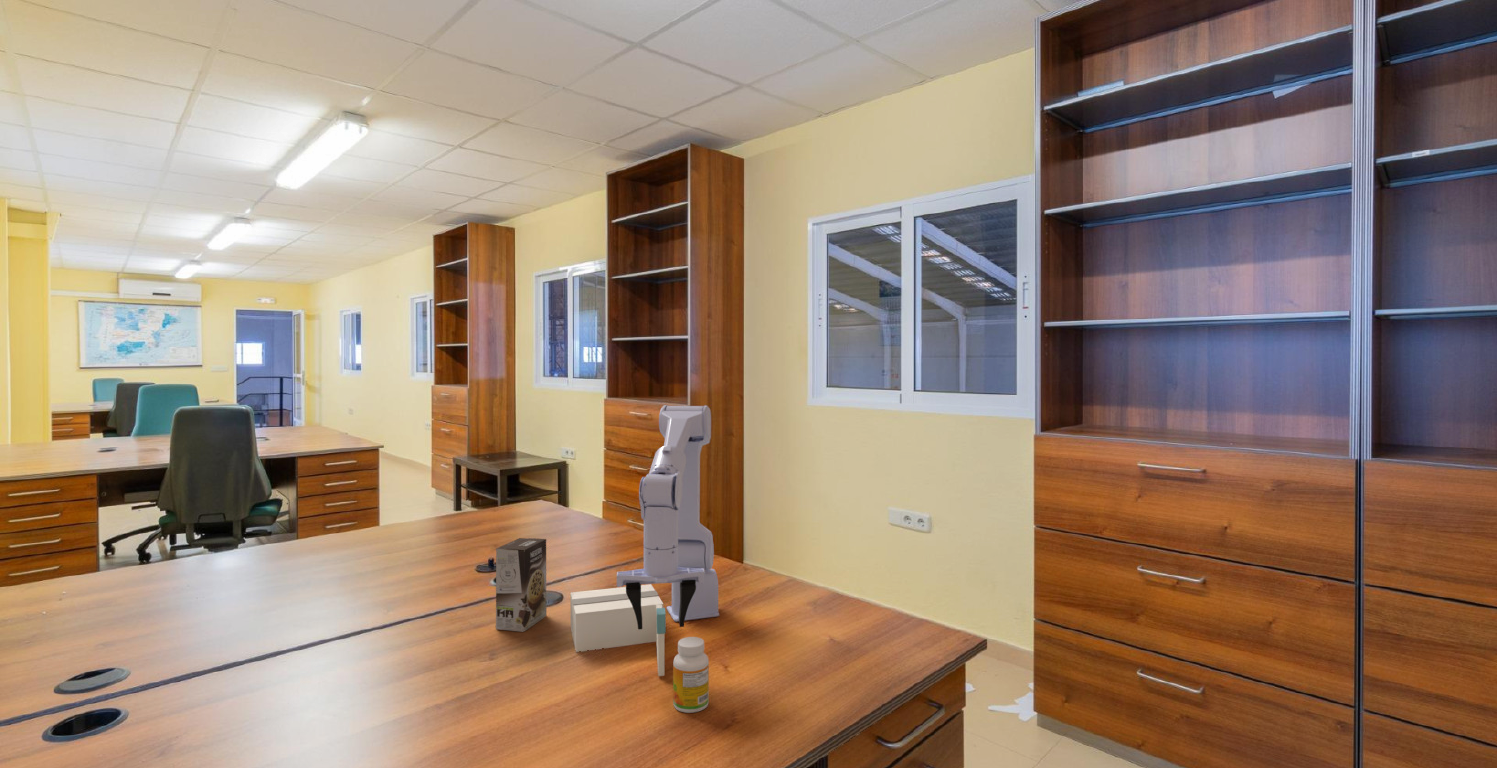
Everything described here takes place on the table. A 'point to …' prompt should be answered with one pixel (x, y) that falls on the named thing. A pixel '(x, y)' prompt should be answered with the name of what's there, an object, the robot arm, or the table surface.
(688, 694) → the supplement bottle
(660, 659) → the green beige flat block
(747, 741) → the table surface
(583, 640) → the carton
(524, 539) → the coffee box
